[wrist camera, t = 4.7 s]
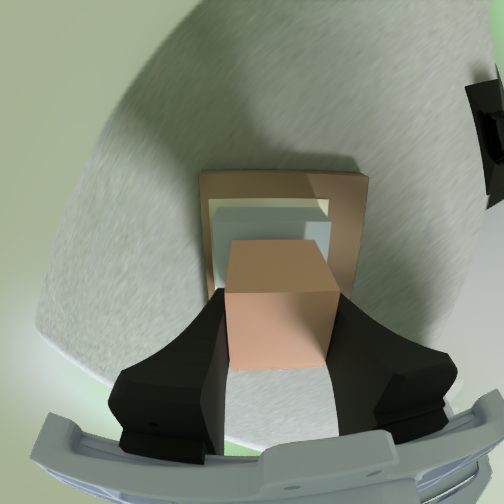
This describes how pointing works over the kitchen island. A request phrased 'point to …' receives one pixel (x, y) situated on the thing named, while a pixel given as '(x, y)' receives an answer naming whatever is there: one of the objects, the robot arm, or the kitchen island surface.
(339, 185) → the build board
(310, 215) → the base block
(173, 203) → the kitchen island surface
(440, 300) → the kitchen island surface
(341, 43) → the kitchen island surface
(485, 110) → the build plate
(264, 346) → the top block
